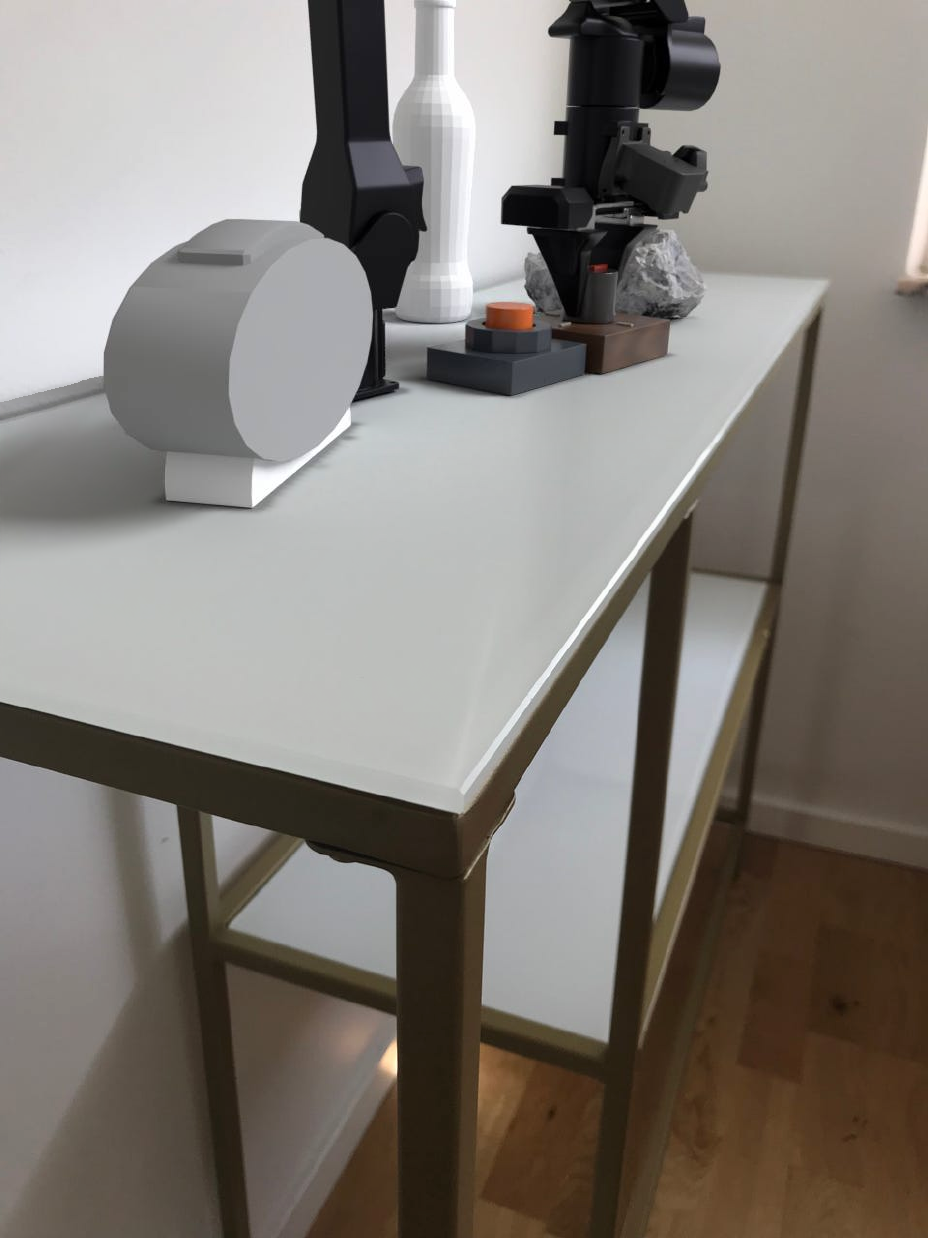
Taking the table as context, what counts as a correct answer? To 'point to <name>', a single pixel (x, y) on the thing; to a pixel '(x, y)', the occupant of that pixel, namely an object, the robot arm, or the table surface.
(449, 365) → the button box
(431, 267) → the bottle
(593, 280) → the knob
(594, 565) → the table surface
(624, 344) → the panel
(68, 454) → the table surface
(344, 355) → the alarm clock
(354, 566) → the table surface
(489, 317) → the button
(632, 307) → the rock
